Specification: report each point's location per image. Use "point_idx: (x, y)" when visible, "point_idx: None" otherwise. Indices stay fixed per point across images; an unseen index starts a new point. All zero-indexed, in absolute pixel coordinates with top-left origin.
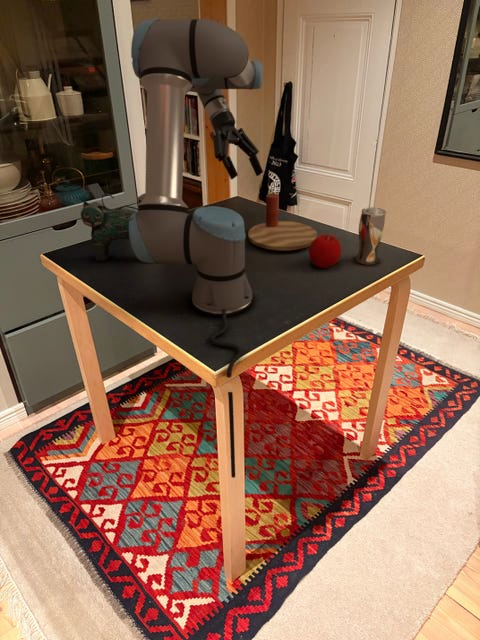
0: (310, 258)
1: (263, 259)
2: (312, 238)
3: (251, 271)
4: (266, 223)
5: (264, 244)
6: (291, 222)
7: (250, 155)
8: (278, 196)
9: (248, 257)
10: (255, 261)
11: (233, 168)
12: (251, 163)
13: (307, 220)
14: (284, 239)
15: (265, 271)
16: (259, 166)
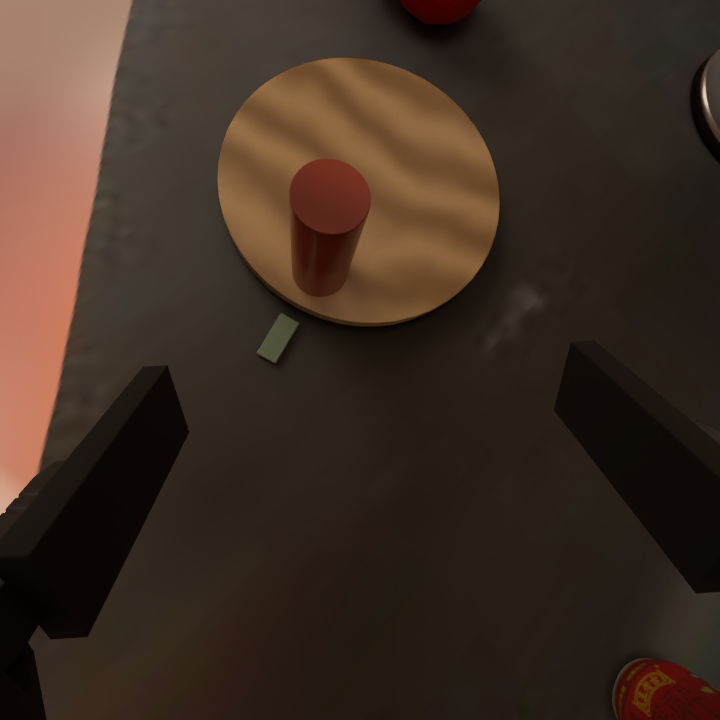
0: (474, 7)
1: (524, 166)
2: (333, 67)
3: (604, 150)
4: (345, 279)
5: (496, 178)
6: (236, 218)
7: (9, 663)
8: (317, 160)
9: (546, 213)
10: (551, 178)
11: (641, 380)
12: (124, 547)
13: (89, 235)
14: (412, 145)
15: (577, 118)
16: (139, 404)
